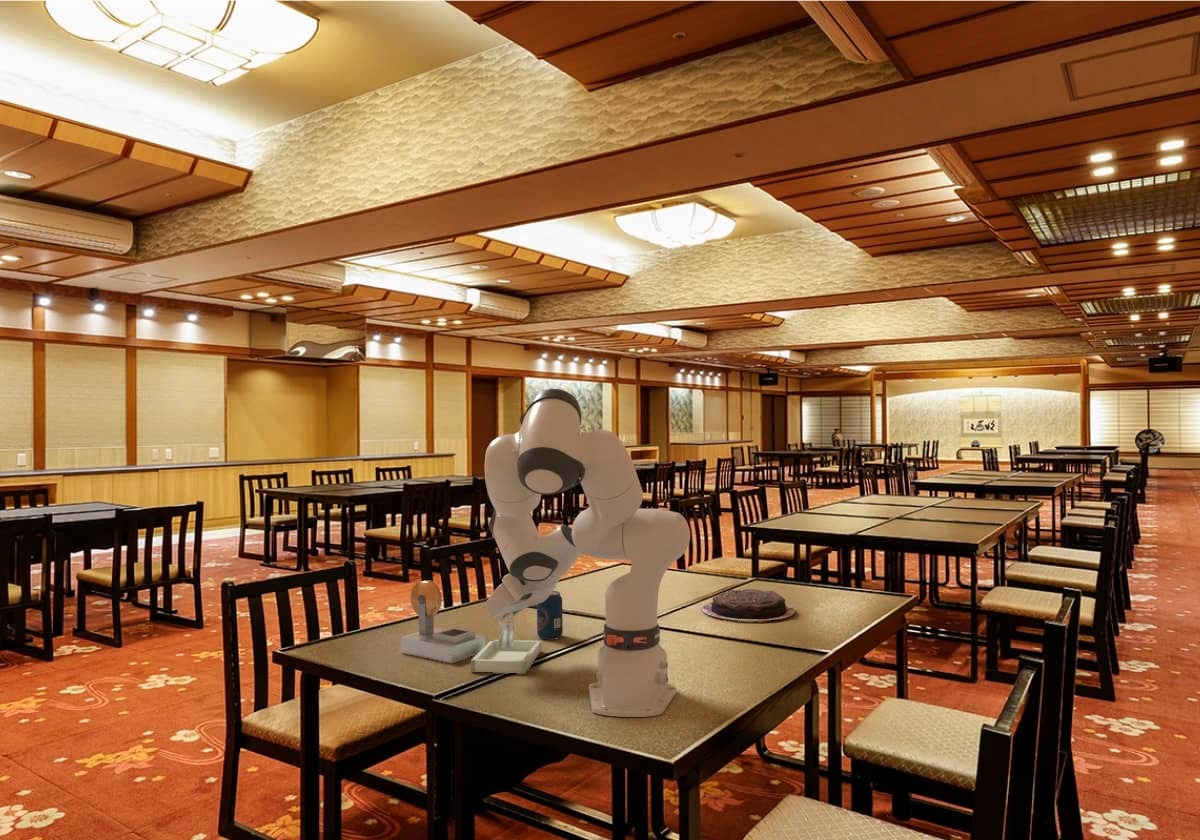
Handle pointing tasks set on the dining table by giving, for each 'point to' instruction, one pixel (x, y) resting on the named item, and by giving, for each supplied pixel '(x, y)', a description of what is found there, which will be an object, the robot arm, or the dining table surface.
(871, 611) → the dining table surface
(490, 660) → the tray
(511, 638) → the dome-capped glass cylinder
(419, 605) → the block
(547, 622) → the soda can
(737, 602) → the chocolate cake
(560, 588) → the dining table surface
